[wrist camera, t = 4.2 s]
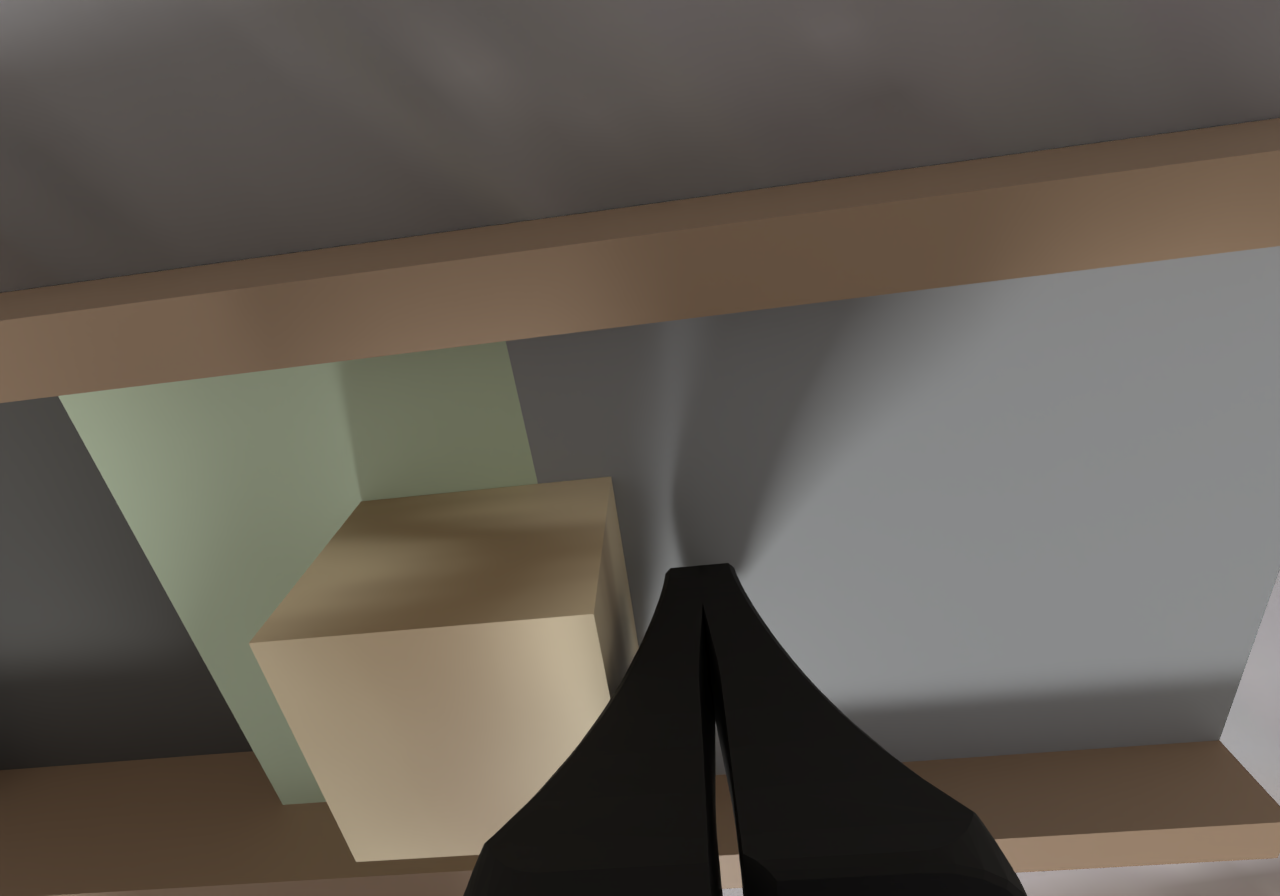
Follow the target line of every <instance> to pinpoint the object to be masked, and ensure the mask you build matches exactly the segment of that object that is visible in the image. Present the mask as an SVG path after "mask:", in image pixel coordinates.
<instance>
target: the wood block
mask: <svg viewBox="0 0 1280 896" xmlns="http://www.w3.org/2000/svg"><path fill="white" fill-rule="evenodd" d="M249 645H250V647H251V649H252V651H253V653H254V655H255V657H256V659H257V661H258V663H259V665H260V667H261V670H262V672H263V674H264V676H265V678H266V680H267V682H268V684H269V686H270V688H271V690H272V692H273V694H274V696H275V698H276V700H277V702H278V704H279V706H280V708H281V710H282V712H283V714H284V716H285V718H286V720H287V722H288V724H289V726H290V729H291V731H292V733H293V735H294V737H295V739H296V741H297V743H298V745H299V747H300V749H301V751H302V753H303V755H304V757H305V759H306V761H307V763H308V765H309V767H310V769H311V771H312V773H313V775H314V777H315V779H316V781H317V783H318V785H319V788H320V790H321V792H322V794H323V796H324V798H325V800H326V802H327V804H328V806H329V808H330V810H331V812H332V814H333V816H334V818H335V820H336V822H337V824H338V826H339V828H340V830H341V832H342V834H343V836H344V838H345V840H346V842H347V844H348V846H349V849H350V851H351V853H352V855H353V857H354V859H355V861H356V862H365V861H381V860H398V859H415V858H432V857H449V856H466V855H479V854H480V852H481V850H482V848H483V845H484V843H485V842H487V841H488V840H489V839H490V838H491V837H492V836H493V835H494V834H495V833H496V832H497V831H498V830H499V829H500V828H502V827H503V826H504V825H505V824H506V823H507V822H508V821H509V820H510V819H511V818H512V817H513V816H514V815H515V814H516V813H517V812H518V811H519V810H520V809H521V808H522V807H523V806H525V805H526V804H527V803H528V802H529V801H530V800H531V798H532V797H533V796H534V795H535V794H536V793H537V792H538V791H539V790H540V789H541V788H542V787H543V785H544V784H545V783H546V782H547V781H548V780H549V779H550V778H551V776H552V775H553V774H554V773H555V772H556V771H557V770H558V768H559V767H560V766H561V765H562V764H563V763H564V762H565V761H566V759H567V758H568V757H569V756H570V755H571V753H572V752H573V751H574V750H575V748H576V747H577V746H578V745H579V743H580V742H581V741H582V739H583V738H584V737H585V735H586V734H587V732H588V731H589V730H590V728H591V727H592V726H593V724H594V723H595V721H596V720H597V719H598V717H599V716H600V714H601V713H602V711H603V710H604V708H605V707H606V705H607V704H608V702H609V701H610V699H611V698H612V696H613V694H614V693H615V691H616V689H617V688H618V686H619V684H620V683H621V681H622V679H623V677H624V676H625V674H626V672H627V670H628V668H629V666H630V664H631V662H632V660H633V658H634V656H635V654H636V652H637V651H638V649H639V646H638V640H637V634H636V627H635V621H634V615H633V609H632V603H631V596H630V590H629V584H628V578H627V572H626V565H625V559H624V553H623V547H622V541H621V534H620V528H619V522H618V516H617V510H616V503H615V497H614V491H613V485H612V479H611V477H601V478H591V479H581V480H571V481H561V482H551V483H541V484H531V485H521V486H511V487H501V488H491V489H481V490H471V491H461V492H451V493H441V494H431V495H420V496H410V497H400V498H390V499H380V500H370V501H361V502H360V503H359V505H358V506H357V507H356V508H355V510H354V511H353V512H352V514H351V515H350V516H349V517H348V519H347V520H346V521H345V522H344V524H343V525H342V526H341V527H340V529H339V530H338V531H337V532H336V534H335V535H334V536H333V537H332V539H331V540H330V541H329V543H328V544H327V545H326V546H325V548H324V549H323V550H322V551H321V553H320V554H319V555H318V556H317V558H316V559H315V560H314V561H313V563H312V564H311V565H310V566H309V568H308V569H307V570H306V572H305V573H304V574H303V575H302V577H301V578H300V579H299V580H298V582H297V583H296V584H295V585H294V587H293V588H292V589H291V590H290V592H289V593H288V594H287V595H286V597H285V598H284V599H283V601H282V602H281V603H280V604H279V606H278V607H277V608H276V609H275V611H274V612H273V613H272V614H271V616H270V617H269V618H268V619H267V621H266V622H265V623H264V624H263V626H262V627H261V628H260V630H259V631H258V632H257V633H256V635H255V636H254V637H253V638H252V640H251V641H250V642H249Z"/></svg>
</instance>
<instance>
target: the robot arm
mask: <svg viewBox="0 0 1280 896" xmlns="http://www.w3.org/2000/svg"><path fill="white" fill-rule="evenodd" d="M715 722H716V727H717V732H718V737H719V742H720V747H721V752H722V757H723V762H724V767H725V772H726V777H727V782H728V787H729V792H730V797H731V802H732V808H733V814H734V820H735V827H736V834H737V843H738V852H739V861H740V870H741V879H742V888H743V896H1027V895H1026V892H1025V890H1024V888H1023V886H1022V884H1021V882H1020V880H1019V878H1018V877H1017V875H1016V873H1015V871H1014V870H1013V868H1012V866H1011V865H1010V863H1009V862H1008V860H1007V858H1006V857H1005V855H1004V854H1003V852H1002V850H1001V849H1000V847H999V846H998V844H997V842H996V841H995V839H994V838H993V837H992V835H991V834H990V832H989V831H988V829H987V828H986V826H985V825H984V823H983V822H982V821H981V819H980V818H979V817H978V815H977V814H976V813H975V812H973V811H972V810H970V809H969V808H967V807H966V806H964V805H963V804H961V803H960V802H958V801H957V800H955V799H953V798H952V797H950V796H949V795H947V794H946V793H944V792H943V791H941V790H940V789H938V788H937V787H935V786H933V785H932V784H930V783H929V782H927V781H926V780H924V779H923V778H921V777H920V776H919V775H917V774H916V773H915V772H914V771H912V770H911V769H910V768H908V767H907V766H906V765H904V764H903V763H902V762H900V761H899V760H898V759H896V758H895V757H894V756H892V755H891V754H890V753H889V752H887V751H886V750H885V749H884V748H883V747H882V746H880V745H879V744H878V743H877V742H876V741H874V740H873V739H872V738H871V737H870V736H869V735H867V734H866V733H865V732H864V731H863V730H861V729H860V728H859V727H858V726H857V725H856V724H854V723H853V722H852V721H851V720H850V719H849V718H848V717H847V716H846V715H844V714H843V713H842V712H841V711H840V710H839V709H838V708H837V707H836V706H835V705H834V704H833V703H832V702H831V701H830V700H829V699H828V698H827V697H826V696H825V695H824V694H823V693H822V692H821V691H820V690H819V689H818V688H817V687H816V686H815V685H814V683H813V682H812V681H811V680H810V679H809V678H808V677H807V676H806V675H805V673H804V672H803V671H802V670H801V669H800V668H799V667H798V665H797V664H796V663H795V662H794V661H793V659H792V658H791V657H790V656H789V654H788V653H787V652H786V651H785V649H784V648H783V647H782V646H781V644H780V643H779V642H778V640H777V639H776V638H775V636H774V635H773V634H772V632H771V631H770V629H769V628H768V626H767V625H766V624H765V622H764V621H763V619H762V618H761V616H760V615H759V613H758V612H757V610H756V609H755V607H754V606H753V604H752V602H751V601H750V599H749V597H748V596H747V594H746V592H745V590H744V588H743V587H742V585H741V583H740V581H739V578H738V576H737V574H736V571H735V568H734V567H733V566H732V565H730V564H729V563H721V564H710V565H699V566H688V567H677V568H670V569H669V570H668V571H667V572H666V573H665V579H664V584H663V587H662V591H661V594H660V598H659V601H658V603H657V606H656V609H655V612H654V614H653V617H652V619H651V622H650V624H649V626H648V629H647V631H646V633H645V636H644V638H643V640H642V642H641V645H640V647H639V649H638V651H637V652H636V654H635V656H634V658H633V660H632V662H631V664H630V666H629V668H628V670H627V672H626V674H625V676H624V677H623V679H622V681H621V683H620V684H619V686H618V688H617V689H616V691H615V693H614V694H613V696H612V698H611V699H610V701H609V702H608V704H607V705H606V707H605V708H604V710H603V711H602V713H601V714H600V716H599V717H598V719H597V720H596V721H595V723H594V724H593V726H592V727H591V728H590V730H589V731H588V732H587V734H586V735H585V737H584V738H583V739H582V741H581V742H580V743H579V745H578V746H577V747H576V748H575V750H574V751H573V752H572V753H571V755H570V756H569V757H568V758H567V759H566V761H565V762H564V763H563V764H562V765H561V766H560V767H559V768H558V770H557V771H556V772H555V773H554V774H553V775H552V776H551V778H550V779H549V780H548V781H547V782H546V783H545V784H544V785H543V787H542V788H541V789H540V790H539V791H538V792H537V793H536V794H535V795H534V796H533V797H532V798H531V800H530V801H529V802H528V803H527V804H526V805H525V806H523V807H522V808H521V809H520V810H519V811H518V812H517V813H516V814H515V815H514V816H513V817H512V818H511V819H510V820H509V821H508V822H507V823H506V824H505V825H504V826H503V827H502V828H500V829H499V830H498V831H497V832H496V833H495V834H494V835H493V836H492V837H491V838H490V839H489V840H488V841H487V842H485V843H484V845H483V848H482V850H481V852H480V854H479V857H478V859H477V861H476V864H475V866H474V869H473V871H472V874H471V876H470V879H469V882H468V885H467V887H466V890H465V892H464V895H463V896H723V895H722V884H721V872H720V861H719V850H718V839H717V825H716V745H715Z"/></svg>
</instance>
